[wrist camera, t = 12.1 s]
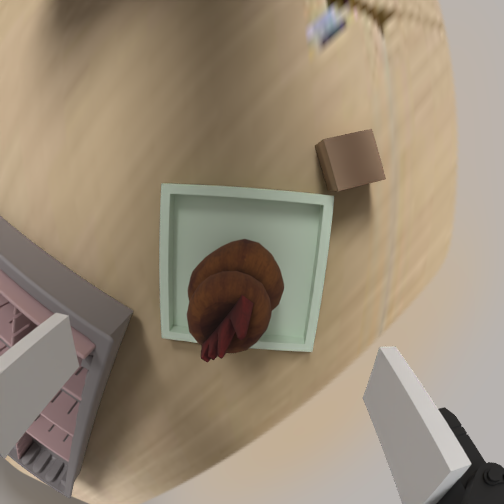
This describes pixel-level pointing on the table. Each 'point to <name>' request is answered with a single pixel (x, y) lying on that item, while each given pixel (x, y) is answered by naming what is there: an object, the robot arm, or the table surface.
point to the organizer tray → (86, 345)
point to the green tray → (255, 229)
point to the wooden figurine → (233, 297)
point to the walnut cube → (350, 160)
